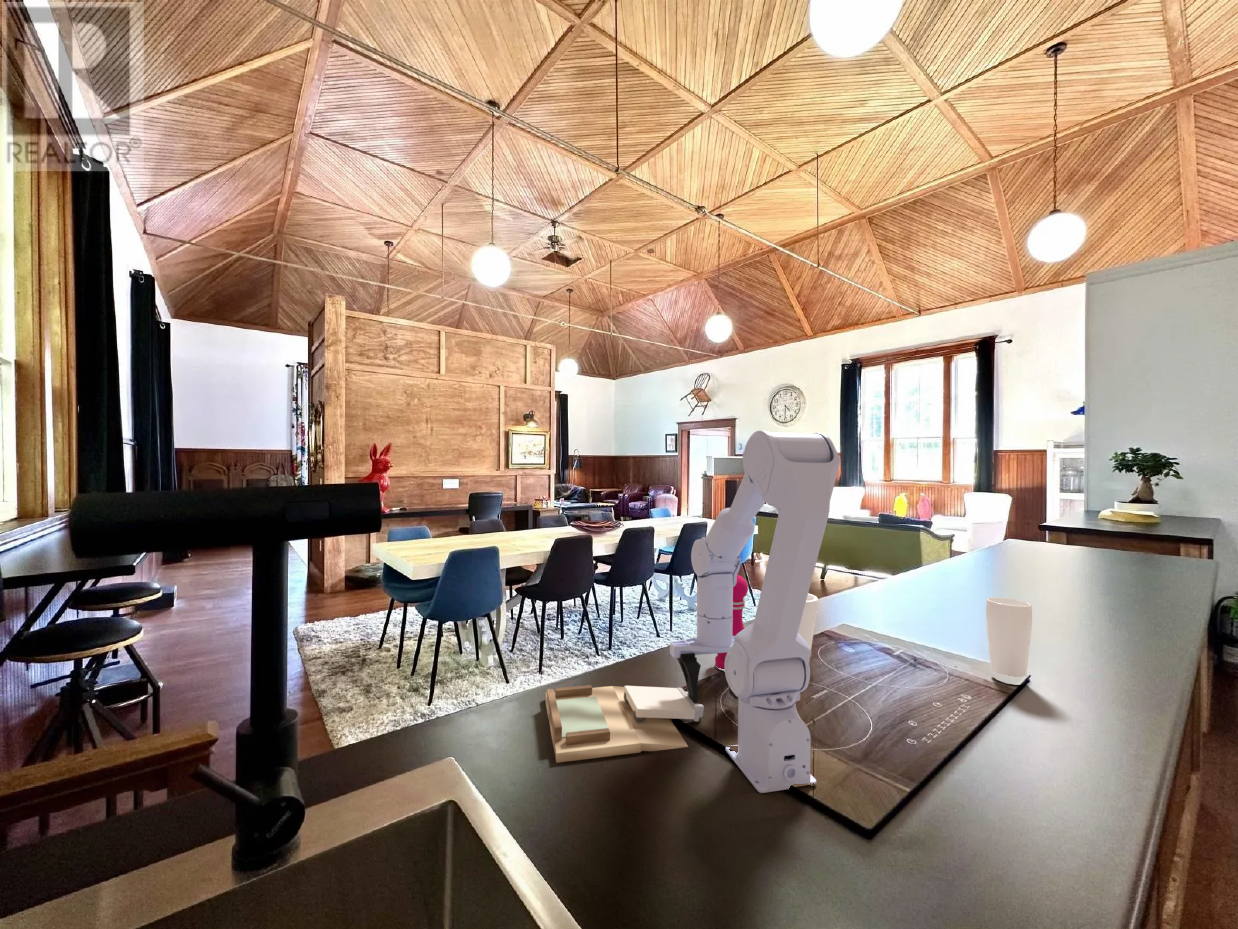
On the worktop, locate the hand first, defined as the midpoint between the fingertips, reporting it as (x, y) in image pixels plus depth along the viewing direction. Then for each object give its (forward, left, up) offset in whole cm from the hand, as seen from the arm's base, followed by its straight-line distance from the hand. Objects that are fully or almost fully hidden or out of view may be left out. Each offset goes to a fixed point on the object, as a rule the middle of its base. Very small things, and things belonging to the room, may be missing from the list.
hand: (713, 698), depth 79 cm
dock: (0, +17, -3) cm, 17 cm away
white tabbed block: (0, +10, -1) cm, 10 cm away
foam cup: (+17, -26, -2) cm, 31 cm away
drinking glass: (-1, -60, -2) cm, 60 cm away
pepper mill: (+15, -11, -2) cm, 18 cm away
